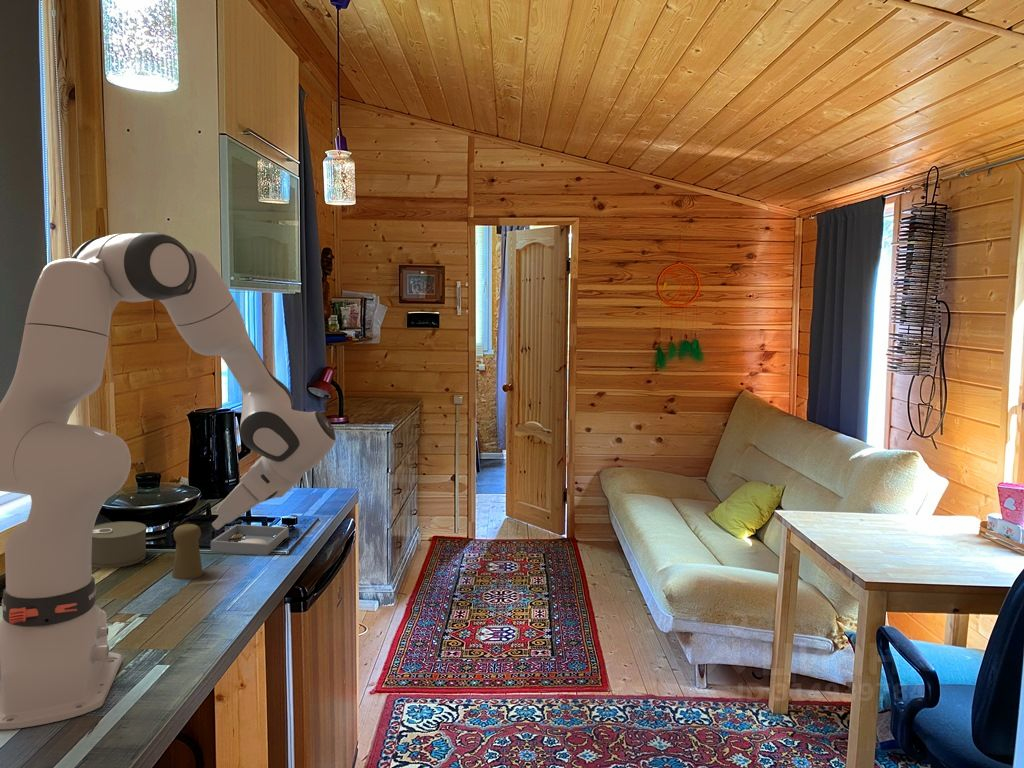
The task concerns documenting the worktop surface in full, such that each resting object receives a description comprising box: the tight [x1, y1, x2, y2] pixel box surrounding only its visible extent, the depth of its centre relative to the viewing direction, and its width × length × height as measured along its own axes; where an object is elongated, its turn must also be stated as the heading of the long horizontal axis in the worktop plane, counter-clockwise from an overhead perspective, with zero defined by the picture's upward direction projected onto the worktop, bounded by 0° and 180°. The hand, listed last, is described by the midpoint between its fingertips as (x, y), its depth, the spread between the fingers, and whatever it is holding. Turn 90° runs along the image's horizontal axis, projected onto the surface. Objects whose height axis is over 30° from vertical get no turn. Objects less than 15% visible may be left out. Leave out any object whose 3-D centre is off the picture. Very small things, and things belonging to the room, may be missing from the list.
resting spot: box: [238, 539, 267, 544], centre depth 175 cm, size 7×7×1 cm
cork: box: [171, 523, 204, 580], centre depth 155 cm, size 6×6×11 cm
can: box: [92, 520, 147, 569], centre depth 163 cm, size 12×12×7 cm
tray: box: [210, 523, 290, 556], centre depth 175 cm, size 13×13×3 cm
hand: (226, 519), depth 153 cm, fingers open, 8 cm apart
